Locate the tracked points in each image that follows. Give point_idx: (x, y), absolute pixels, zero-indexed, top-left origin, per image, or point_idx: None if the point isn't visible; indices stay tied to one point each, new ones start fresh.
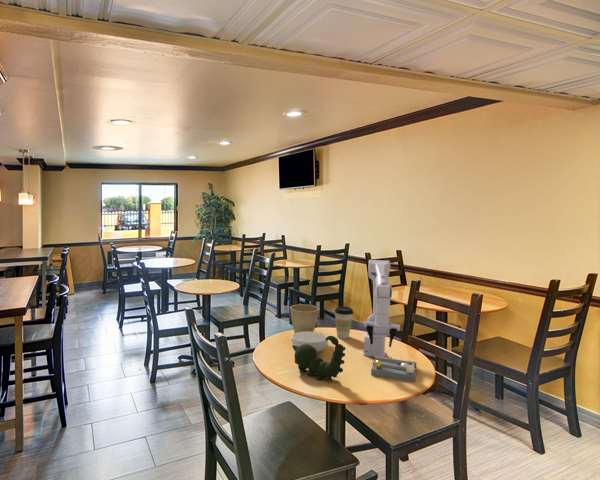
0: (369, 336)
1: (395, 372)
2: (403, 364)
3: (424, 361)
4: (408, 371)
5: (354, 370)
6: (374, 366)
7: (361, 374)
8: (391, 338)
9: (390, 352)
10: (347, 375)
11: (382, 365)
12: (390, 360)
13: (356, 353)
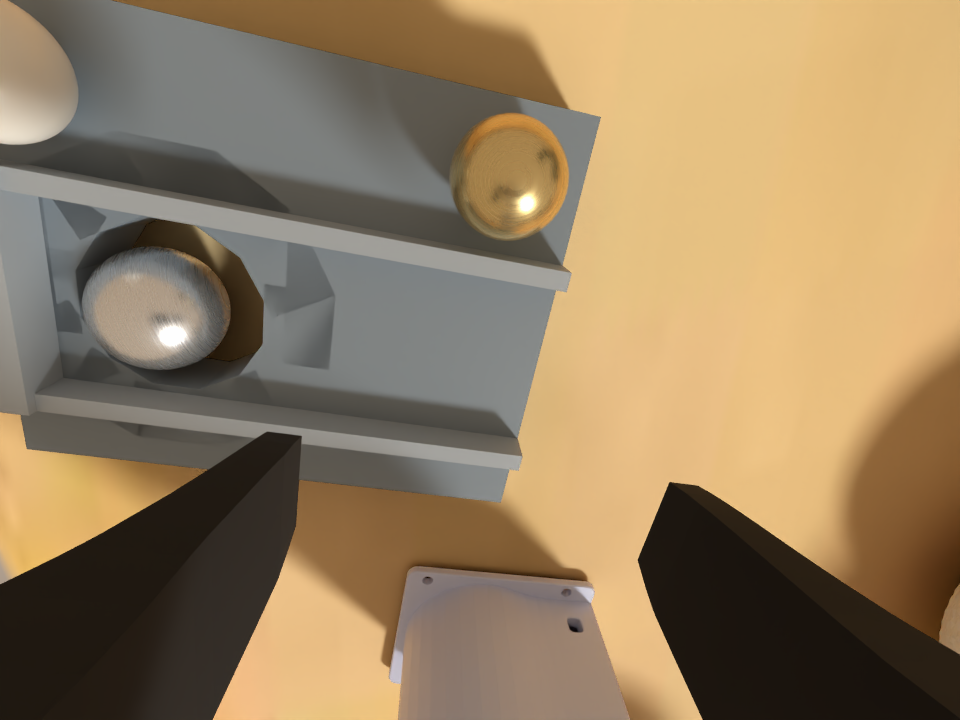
0: (898, 619)
1: (260, 55)
2: (149, 296)
3: None
4: (24, 11)
5: (740, 224)
6: None
7: (684, 122)
8: (92, 580)
9: (352, 688)
10: (855, 52)
11: (442, 245)
12: (338, 423)
13: (643, 607)
